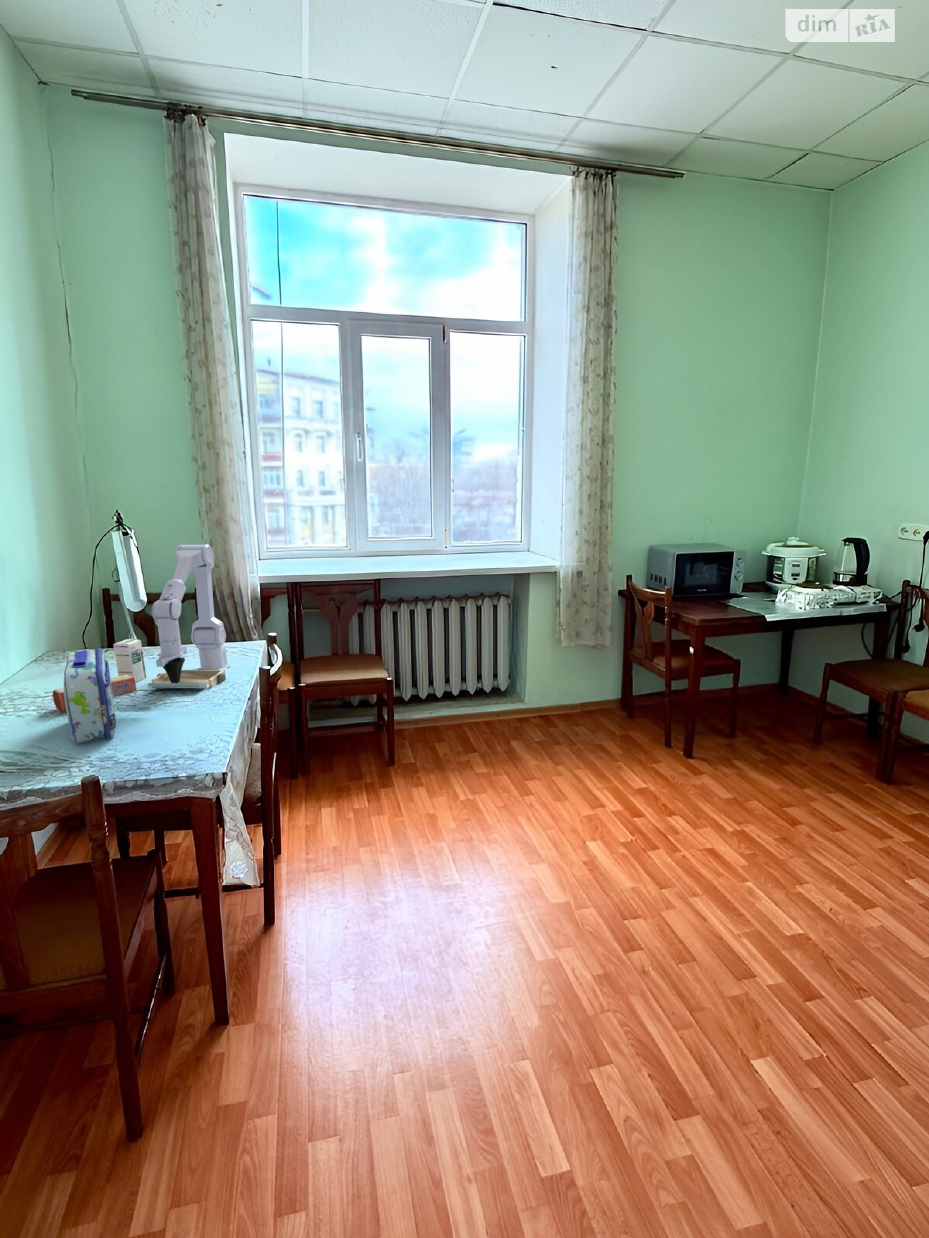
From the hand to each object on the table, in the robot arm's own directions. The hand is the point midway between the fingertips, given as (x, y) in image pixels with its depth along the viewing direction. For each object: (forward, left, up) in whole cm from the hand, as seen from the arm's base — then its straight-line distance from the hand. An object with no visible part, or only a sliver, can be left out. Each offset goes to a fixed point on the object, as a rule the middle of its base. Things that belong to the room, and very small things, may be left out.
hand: (175, 682), depth 196 cm
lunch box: (+26, -9, -5) cm, 28 cm away
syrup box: (-10, -20, -4) cm, 23 cm away
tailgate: (-4, 0, -3) cm, 4 cm away
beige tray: (-8, 0, -4) cm, 10 cm away
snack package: (+5, -22, -5) cm, 23 cm away
